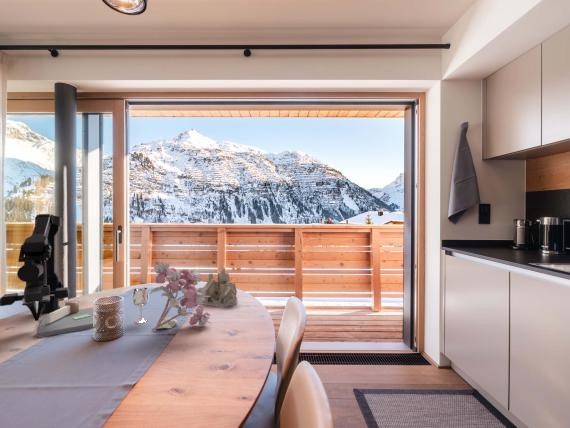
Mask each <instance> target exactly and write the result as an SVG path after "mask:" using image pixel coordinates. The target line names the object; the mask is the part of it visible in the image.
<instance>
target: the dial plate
mask: <svg viewBox="0 0 570 428" xmlns="http://www.w3.org/2000/svg"><path fill="white" fill-rule="evenodd" d="M47 314H48V313H45V314H44V315H43V317H42V320H41V322H40V325H39V326H38V329H37V332H36V338H43V337H44V338H45V337H50V336H54V335H55V336H56V335H59V334H66V333H71V332H77V331H82V330H88V329H89V330H90V329H93V316H94V307H89V308H88V307H87V308H82V309H80V308H79V312H77V313H74V314H67V315H65V316H63V317H62V318H60V319H58V320H56V321H54V322H52V323H47Z"/></svg>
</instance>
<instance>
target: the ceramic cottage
mask: <svg viewBox="0 0 570 428" xmlns="http://www.w3.org/2000/svg"><path fill="white" fill-rule="evenodd" d="M221 269H222V270H221V271H220V273H218V274H217V281H215V280H214V274H213V273H211V272H210V273H209V274H208V279H207V282H206V283H205V285H204V286H203V287H202V288H205V289H204V290H205V291H206V293H205V295H204V296H210V297H205V299H204V298H203V299H204V300H206V301H202V303H204V304H202V305H204V306H209V307H220V308H227V307H231V306H236V305H238V301H239V300H238V297H237V293H238V291H237V290H238V289H237V285H236V283H235V282H232V281H231V279H230V274H229V272H226V268H225V267H222V268H221Z"/></svg>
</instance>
